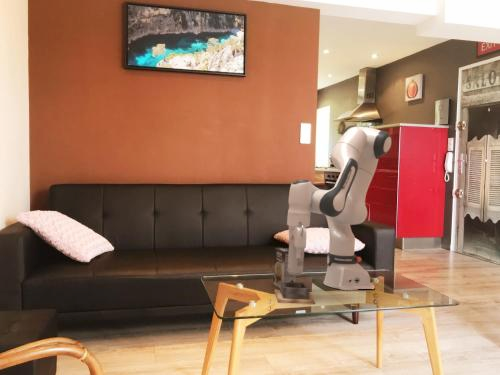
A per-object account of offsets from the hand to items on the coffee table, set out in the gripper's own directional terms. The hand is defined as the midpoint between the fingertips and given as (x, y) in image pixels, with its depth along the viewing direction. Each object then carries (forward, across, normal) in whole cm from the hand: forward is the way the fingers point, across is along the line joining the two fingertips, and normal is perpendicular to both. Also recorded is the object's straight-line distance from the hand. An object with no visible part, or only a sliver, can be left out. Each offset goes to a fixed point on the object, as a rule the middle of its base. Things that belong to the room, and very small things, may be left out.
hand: (296, 256), depth 169 cm
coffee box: (+17, +16, +2) cm, 23 cm away
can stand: (+16, 0, 0) cm, 17 cm away
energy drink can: (+7, 0, 0) cm, 7 cm away
